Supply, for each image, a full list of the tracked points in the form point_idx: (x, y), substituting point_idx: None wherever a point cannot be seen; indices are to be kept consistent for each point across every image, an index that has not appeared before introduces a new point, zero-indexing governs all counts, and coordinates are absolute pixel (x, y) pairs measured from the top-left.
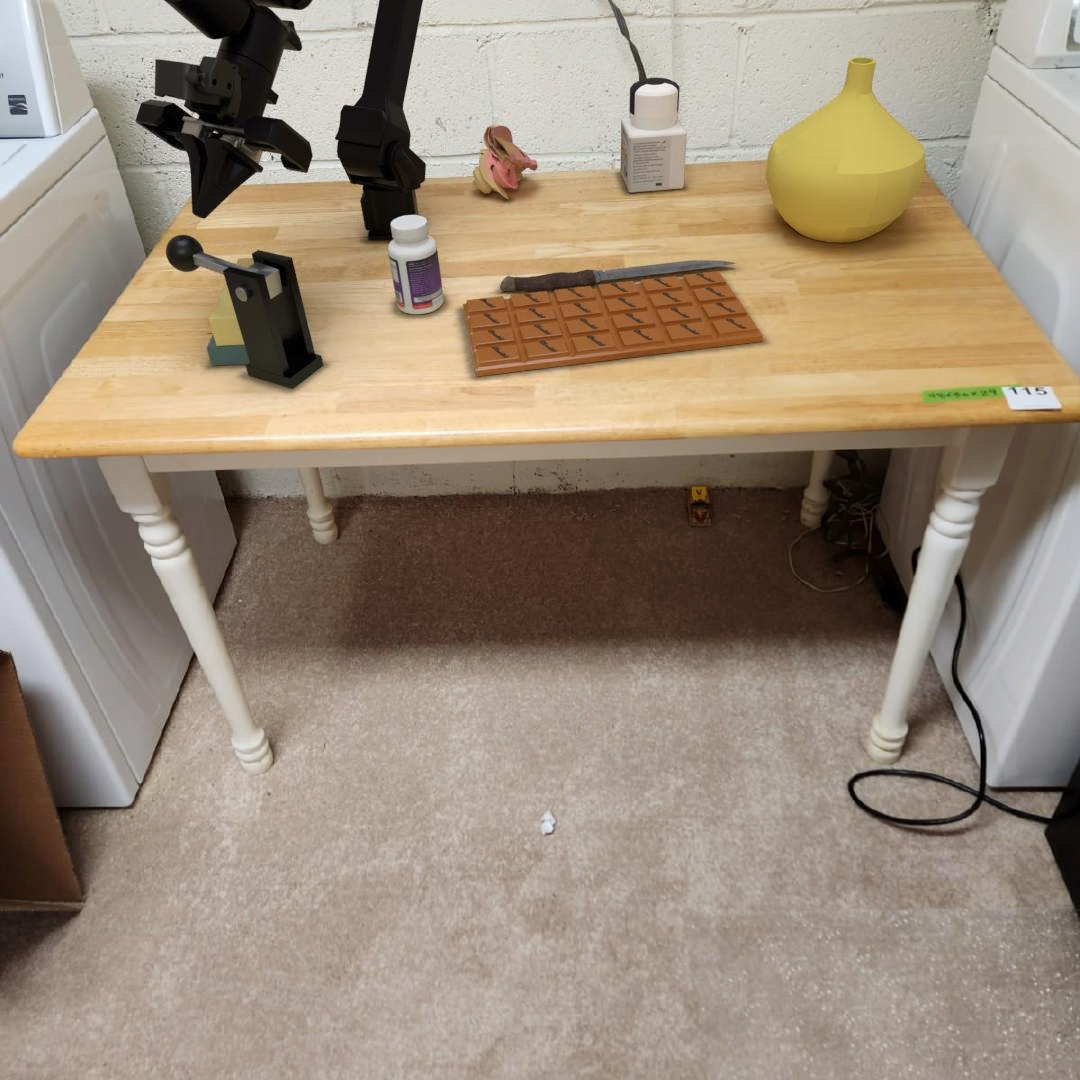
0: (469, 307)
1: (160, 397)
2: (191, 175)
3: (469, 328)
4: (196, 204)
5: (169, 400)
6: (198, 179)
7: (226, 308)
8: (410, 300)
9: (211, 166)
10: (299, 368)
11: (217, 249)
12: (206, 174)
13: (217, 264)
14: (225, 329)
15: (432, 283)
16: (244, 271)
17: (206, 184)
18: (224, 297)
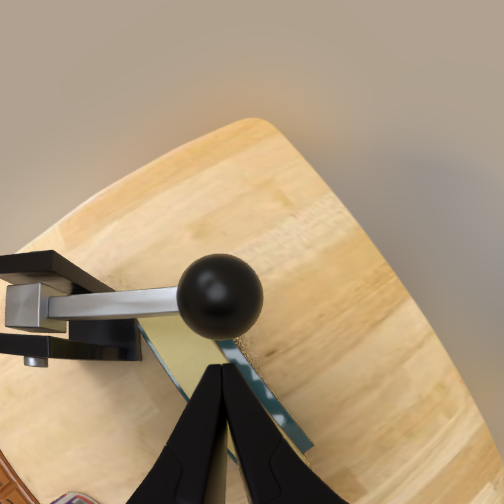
0: (19, 496)
1: (201, 213)
2: (284, 446)
3: (2, 464)
4: (221, 380)
5: (187, 214)
6: (238, 444)
7: (173, 326)
8: (64, 497)
9: (165, 496)
10: (71, 321)
11: (442, 484)
12: (194, 467)
13: (110, 293)
14: None
15: None
16: (19, 266)
17: (182, 434)
18: (208, 353)
